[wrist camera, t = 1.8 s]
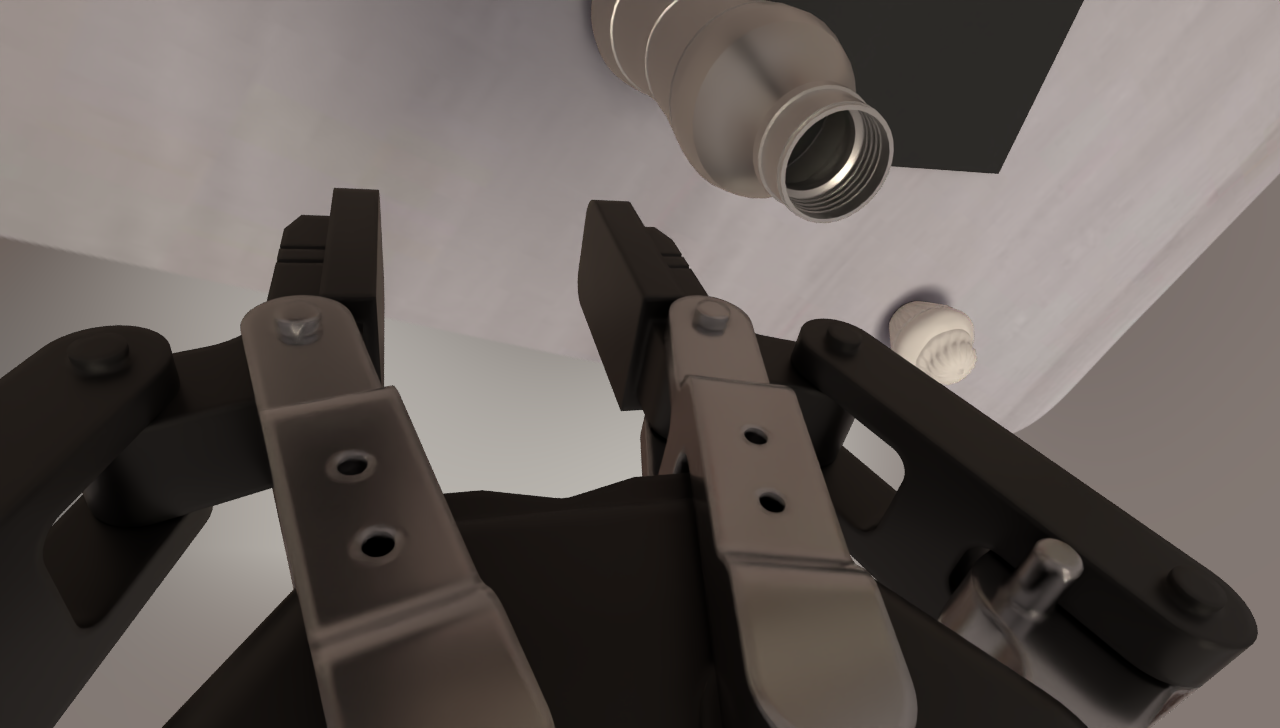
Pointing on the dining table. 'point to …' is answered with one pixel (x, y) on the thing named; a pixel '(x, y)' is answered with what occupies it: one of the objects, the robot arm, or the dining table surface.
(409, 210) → the dining table surface
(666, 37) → the plastic bottle
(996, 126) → the rubber mat
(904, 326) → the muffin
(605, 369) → the robot arm
